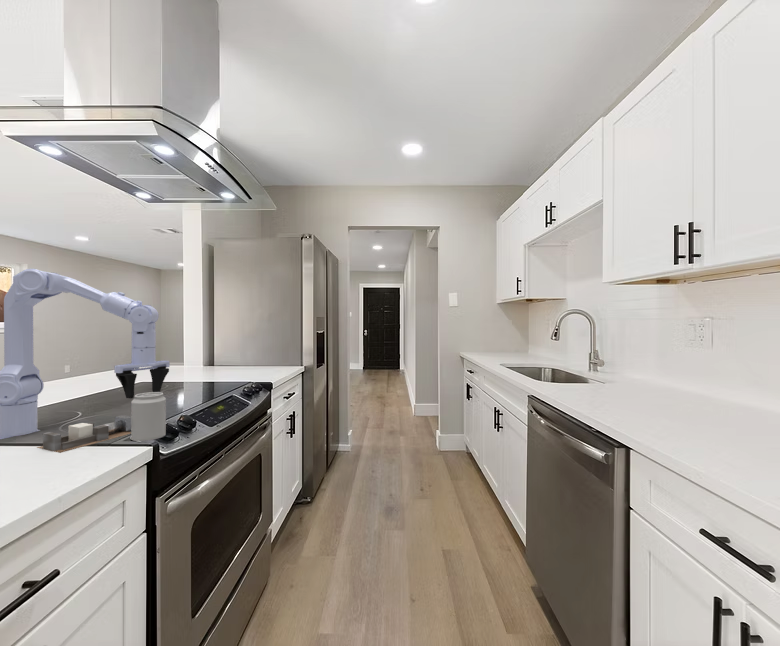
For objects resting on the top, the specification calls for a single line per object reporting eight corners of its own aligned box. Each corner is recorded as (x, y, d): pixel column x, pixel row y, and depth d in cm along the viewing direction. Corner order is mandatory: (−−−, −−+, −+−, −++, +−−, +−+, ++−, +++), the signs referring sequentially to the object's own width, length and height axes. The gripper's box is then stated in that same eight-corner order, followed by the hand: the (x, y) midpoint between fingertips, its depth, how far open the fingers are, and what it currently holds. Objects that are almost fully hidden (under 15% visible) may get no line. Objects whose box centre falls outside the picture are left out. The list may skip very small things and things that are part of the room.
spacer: (68, 442, 90) (68, 425, 90) (82, 438, 93) (82, 422, 93) (78, 444, 89) (78, 427, 89) (92, 440, 91) (92, 424, 91)
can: (148, 446, 91) (149, 397, 91) (123, 443, 93) (123, 395, 92) (172, 436, 98) (172, 391, 98) (148, 434, 100) (148, 390, 100)
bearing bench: (36, 451, 86) (36, 432, 86) (111, 432, 102) (111, 415, 102) (60, 457, 83) (60, 437, 83) (133, 436, 98) (133, 419, 98)
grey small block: (88, 436, 94) (88, 422, 94) (122, 427, 102) (122, 415, 102) (99, 438, 93) (99, 424, 93) (133, 429, 101) (133, 416, 100)
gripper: (126, 349, 97) (126, 401, 97) (177, 346, 110) (176, 392, 110) (109, 348, 100) (109, 399, 100) (160, 345, 113) (160, 390, 113)
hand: (143, 395), depth 105 cm, fingers open, 7 cm apart
